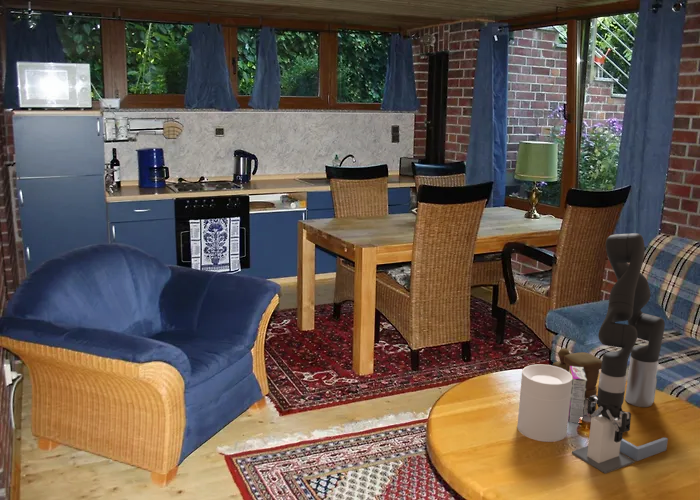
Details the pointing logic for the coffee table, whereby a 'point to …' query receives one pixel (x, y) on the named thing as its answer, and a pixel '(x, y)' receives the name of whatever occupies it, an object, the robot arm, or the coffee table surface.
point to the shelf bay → (643, 448)
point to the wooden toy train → (581, 360)
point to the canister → (544, 402)
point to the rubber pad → (605, 465)
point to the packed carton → (602, 440)
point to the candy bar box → (577, 393)
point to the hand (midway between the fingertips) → (605, 435)
